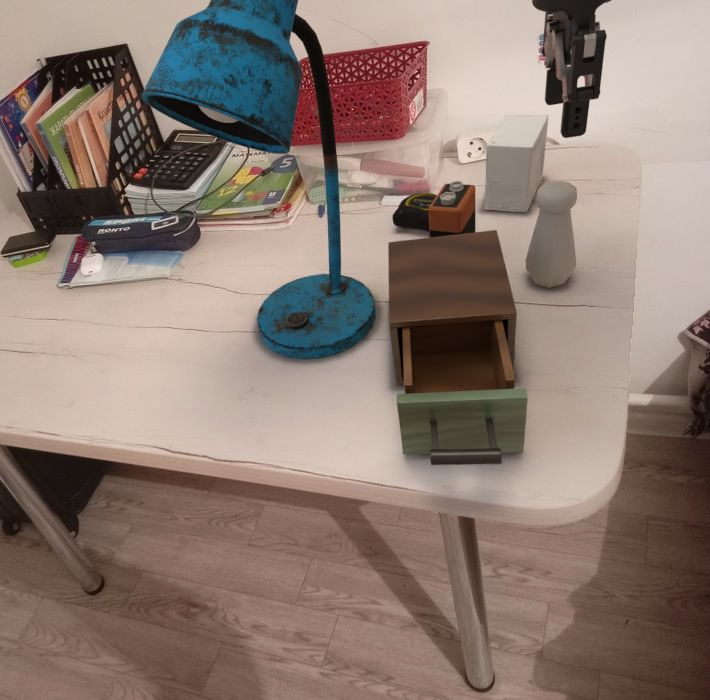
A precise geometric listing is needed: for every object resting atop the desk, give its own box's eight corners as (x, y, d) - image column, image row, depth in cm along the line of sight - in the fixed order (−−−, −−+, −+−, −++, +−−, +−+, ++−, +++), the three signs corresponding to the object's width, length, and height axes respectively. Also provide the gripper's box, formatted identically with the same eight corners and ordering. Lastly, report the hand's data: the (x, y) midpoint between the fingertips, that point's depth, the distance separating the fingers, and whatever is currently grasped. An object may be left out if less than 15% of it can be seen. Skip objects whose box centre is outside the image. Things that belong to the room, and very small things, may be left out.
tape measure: (391, 232, 96) (389, 210, 93) (412, 209, 99) (410, 188, 97) (432, 239, 92) (431, 217, 89) (453, 215, 95) (452, 193, 93)
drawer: (532, 494, 57) (537, 440, 52) (404, 494, 60) (397, 443, 55) (503, 351, 71) (505, 297, 66) (400, 357, 74) (395, 307, 69)
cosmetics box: (528, 213, 91) (533, 146, 84) (483, 210, 94) (484, 145, 87) (545, 178, 97) (550, 112, 90) (501, 176, 100) (503, 113, 93)
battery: (430, 264, 87) (426, 201, 81) (446, 238, 91) (444, 176, 85) (461, 268, 85) (460, 204, 79) (476, 241, 89) (476, 177, 82)
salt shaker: (578, 267, 79) (591, 175, 71) (569, 294, 76) (581, 201, 68) (529, 262, 82) (536, 173, 74) (518, 288, 79) (524, 198, 71)
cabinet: (513, 379, 68) (516, 312, 62) (396, 385, 72) (388, 322, 66) (495, 293, 80) (496, 229, 73) (394, 302, 83) (388, 242, 77)
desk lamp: (210, 354, 84) (73, -9, 56) (315, 268, 93) (243, -82, 65) (295, 401, 74) (181, -17, 45) (404, 300, 83) (366, -102, 54)
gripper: (653, -51, 49) (622, 142, 60) (607, -82, 60) (587, 87, 70) (550, -29, 51) (537, 154, 62) (522, -63, 62) (515, 99, 72)
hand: (563, 118), depth 66 cm, fingers open, 8 cm apart
